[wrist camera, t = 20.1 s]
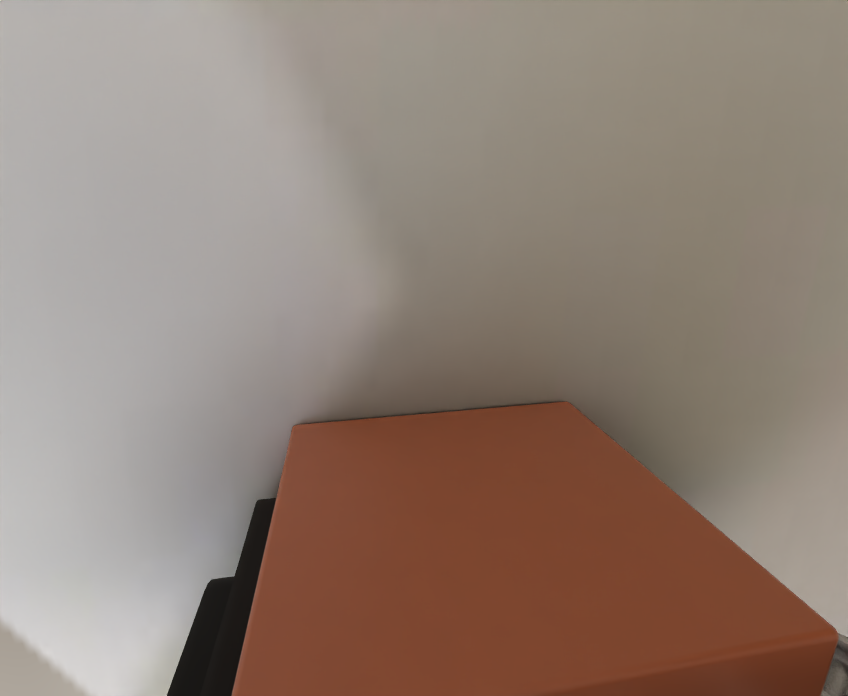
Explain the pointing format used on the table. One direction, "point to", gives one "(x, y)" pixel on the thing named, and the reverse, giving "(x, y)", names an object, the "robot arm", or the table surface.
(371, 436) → the block
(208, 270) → the table surface
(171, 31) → the table surface
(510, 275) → the table surface
